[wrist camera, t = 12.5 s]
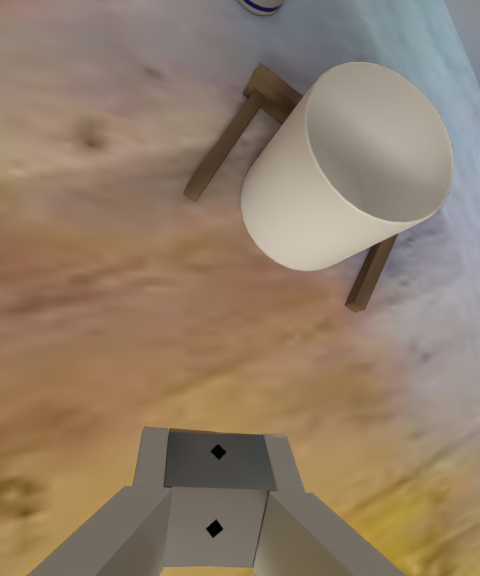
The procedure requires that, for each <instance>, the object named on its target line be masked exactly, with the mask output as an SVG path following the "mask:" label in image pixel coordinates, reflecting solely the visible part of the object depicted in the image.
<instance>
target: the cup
mask: <svg viewBox="0 0 480 576" xmlns="http://www.w3.org/2000/svg"><path fill="white" fill-rule="evenodd" d="M453 169H454V159H453V152H452V145H451V142H450V139H449V135H448V132H447V130H446V128H445V125H444V123H443V121H442V119H441V117H440V115H439V114H438V112H437V111H436V109H435V108H434V106H433V105H432V103H431V102H430V101H429V99H428V98H427V97H426V96H425V95H424V94H423V93H422V92H421V90H420V89H419V88H417V87H416V86H415V85H414V84H413V83H411V82H410V81H409V80H408V79H407V78H405V77H403V76H402V75H400V74H398V73H397V72H395V71H393V70H391V69H389V68H386V67H384V66H381V65H379V64H374V63H368V62H346V63H343V64H339V65H336V66H333V67H331V68H330V69H328V70H327V71H325V72H324V73H322V74H321V75H320V76H319V77H318V79H317V80H316V81H315V82H314V83H313V84H312V86H311V87H310V88H309V90H308V91H307V92H306V94H305V95H304V96H303V98H302V99H301V100H300V102H299V103H298V104H297V106H296V107H295V109H294V110H293V111H292V113H291V114H290V115H289V117H288V118H287V119H286V121H285V122H284V123H283V125H282V126H281V127H280V129H279V130H278V131H277V133H276V134H275V135H274V137H273V138H272V139H271V141H270V142H269V143H268V145H267V146H266V147H265V149H264V150H263V151H262V153H261V154H260V155H259V157H258V158H257V160H256V161H255V162H254V164H253V165H252V166H251V168H250V169H249V171H248V173H247V175H246V177H245V179H244V181H243V185H242V189H241V194H240V200H241V212H242V216H243V221H244V223H245V225H246V228H247V230H248V232H249V234H250V236H251V237H252V239H253V240H254V242H255V243H256V245H257V246H258V247H259V248H260V249H261V250H262V251H263V252H264V253H265V254H266V255H267V256H269V257H270V258H271V259H273V260H274V261H276V262H277V263H279V264H281V265H284V266H286V267H288V268H291V269H296V270H301V271H316V270H320V269H323V268H327V267H329V266H332V265H334V264H336V263H338V262H340V261H342V260H344V259H346V258H348V257H350V256H352V255H354V254H356V253H358V252H361V251H363V250H365V249H367V248H369V247H371V246H373V245H375V244H377V243H379V242H381V241H383V240H385V239H387V238H389V237H391V236H393V235H396V234H398V233H400V232H402V231H404V230H406V229H408V228H410V227H412V226H414V225H416V224H418V223H420V222H422V221H424V220H425V219H427V218H429V217H431V216H432V215H433V214H434V213H435V212H436V211H437V210H438V209H439V208H440V207H441V206H442V205H443V203H444V201H445V199H446V197H447V196H448V194H449V190H450V187H451V183H452V179H453Z"/></svg>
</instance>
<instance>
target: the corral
mask: <svg viewBox="0 0 480 576" xmlns="http://www.w3.org/2000/svg"><path fill="white" fill-rule="evenodd" d="M243 95H245V96H246V97H247V98H249V99H248V100H247V101H246V103H245V104H244V106H243V107H242V109H241V110H240V111H239V113H238V114H237V116H236V117H235V119H234V120H233V121H232V123H231V124H230V126H229V127H228V129H227V130H226V131H225V133H224V134H223V136H222V137H221V138H220V140H219V141H218V143H217V144H216V146H215V147H214V148H213V150H212V151H211V153H210V154H209V156H208V157H207V158H206V160H205V161H204V163H203V164H202V166H201V167H200V168H199V170H198V171H197V173H196V174H195V176H194V177H193V178H192V180H191V181H190V183H189V184H188V186H187V187H186V189H185V191H184V193H183V194H184V195H186V196H187V197H189V198H190V199H191V200H193V201H194V202H196V201H197V199H198V198H199V196H200V195H201V193H202V192H203V190H204V189H205V187H206V186H207V184H208V183H209V182H210V180H211V179H212V177H213V176H214V174H215V173H216V171H217V170H218V168H219V167H220V165H221V164H222V162H223V161H224V159H225V158H226V157H227V155H228V154H229V152H230V151H231V149H232V148H233V146H234V145H235V143H236V142H237V140H238V139H239V137H240V136H241V134H242V133H243V131H244V130H245V129H246V127H247V126H248V124H249V123H250V121H251V120H252V118H253V117H254V115H255V114H256V112H257V111H258V109H259V108H262V109H263V110H264V111H266V112H267V113H268V114H270V115H271V116H272V117H274V118H275V119H276V120H278V121H279V122H280V123H281V124H283V123H284V122H285V121H286V119H287V118H288V117H289V115H290V114H291V113H292V111H293V110H294V109H295V107H296V106H297V104H298V103H299V102H300V100H301V99H302V98H303V96H302V95H301V94H299V93H298V92H297V91H296V90H294V89H293V88H292V87H290V86H289V85H288V84H287V83H285V82H284V81H283V80H281V79H280V78H279V77H278V76H276V75H275V74H274V73H273V72H271V71H270V70H269V69H267V68H266V67H265V66H264V65H262V64H261V63H260V64H259V66H258V67H257V68H256V70H255V71H254V73H253V75H252V77H251V79H250V80H249V82H248V84H247V86H246V88H245V90H244V92H243ZM397 235H398V234H396V235H393V236H391V237H389V238H387V239H385V240H383V241H381V242H379V243H377V244H375V245H373V246H372V247H371V249H370V251H369V253H368V255H367V258H366V260H365V262H364V264H363V266H362V268H361V271H360V273H359V275H358V277H357V279H356V282H355V284H354V286H353V288H352V290H351V293H350V295H349V297H348V299H347V301H346V303H345V306H347V307H348V308H349V309H351V310H352V311H354V312H358V311H362V310H365V309H366V306H367V304H368V302H369V299H370V297H371V295H372V293H373V290H374V288H375V286H376V283H377V281H378V279H379V276H380V274H381V272H382V270H383V267H384V265H385V263H386V260H387V258H388V256H389V253H390V251H391V249H392V247H393V244H394V242H395V240H396V237H397Z"/></svg>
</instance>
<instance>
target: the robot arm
mask: <svg viewBox="0 0 480 576" xmlns="http://www.w3.org/2000/svg"><path fill="white" fill-rule="evenodd" d="M168 433H169V434H168ZM208 565H209V566H220V567H245V568H253V571H254V573H255V574H256V576H406V575H405V574H404V573H403V572H402V571H400V570H399V569H398V568H397V567H396V566H395V565H394V564H392V563H391V562H390V561H389V560H388V559H387V558H386V557H384V556H383V555H382V554H381V553H380V552H379V551H378V550H377V549H375V548H374V547H373V546H372V545H371V544H370V543H369V542H367V541H366V540H365V539H364V538H363V537H362V536H361V535H360V534H358V533H357V532H356V531H355V530H354V529H353V528H352V527H350V526H349V525H348V524H347V523H346V522H345V521H344V520H343V519H341V518H340V517H339V516H338V515H337V514H336V513H335V512H333V511H332V510H331V509H330V508H329V507H328V506H327V505H325V504H324V503H323V502H322V501H321V500H320V499H319V498H318V497H316V496H315V495H314V494H313V493H305V490H304V487H303V484H302V481H301V478H300V475H299V472H298V469H297V466H296V463H295V460H294V456H293V453H292V450H291V447H290V444H289V441H288V438H287V437H286V436H285V435H284V434H261V435H259V434H240V433H220V432H211V431H198V430H186V429H173V428H169V430H168V428H157V427H144V429H143V431H142V436H141V442H140V447H139V453H138V458H137V464H136V469H135V475H134V480H133V486H124V487H123V488H122V489H121V490H120V491H119V492H118V493H117V494H115V495H114V496H113V497H112V498H111V499H110V500H109V501H108V502H107V503H106V504H105V505H103V506H102V507H101V508H100V509H99V510H98V511H97V512H96V513H95V514H94V515H92V516H91V517H90V518H89V519H88V520H87V521H86V522H85V523H84V524H83V525H82V526H80V527H79V528H78V529H77V530H76V531H75V532H74V533H73V534H72V535H71V536H70V537H68V538H67V539H66V540H65V541H64V542H63V543H62V544H61V545H60V546H59V547H58V548H56V549H55V550H54V551H53V552H52V553H51V554H50V555H49V556H48V557H47V558H46V559H44V560H43V561H42V562H41V563H40V564H39V565H38V566H37V567H36V568H35V569H34V570H32V571H31V572H30V573H29V574H28V575H27V576H159V575H160V573H161V572H162V570H163V567H184V566H208Z"/></svg>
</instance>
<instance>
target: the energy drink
mask: <svg viewBox="0 0 480 576" xmlns="http://www.w3.org/2000/svg"><path fill="white" fill-rule="evenodd" d="M238 1H239V2H240V4H241V5H242V6H243V7H244V8H246V9H247V10H248V11H250V12H252V13H254V14H257V15H262V16H266V15H271V14H274V13H276V12H277V11H278V10H279V9H280V8H281V6H282V4H283V2H284V0H238Z"/></svg>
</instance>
